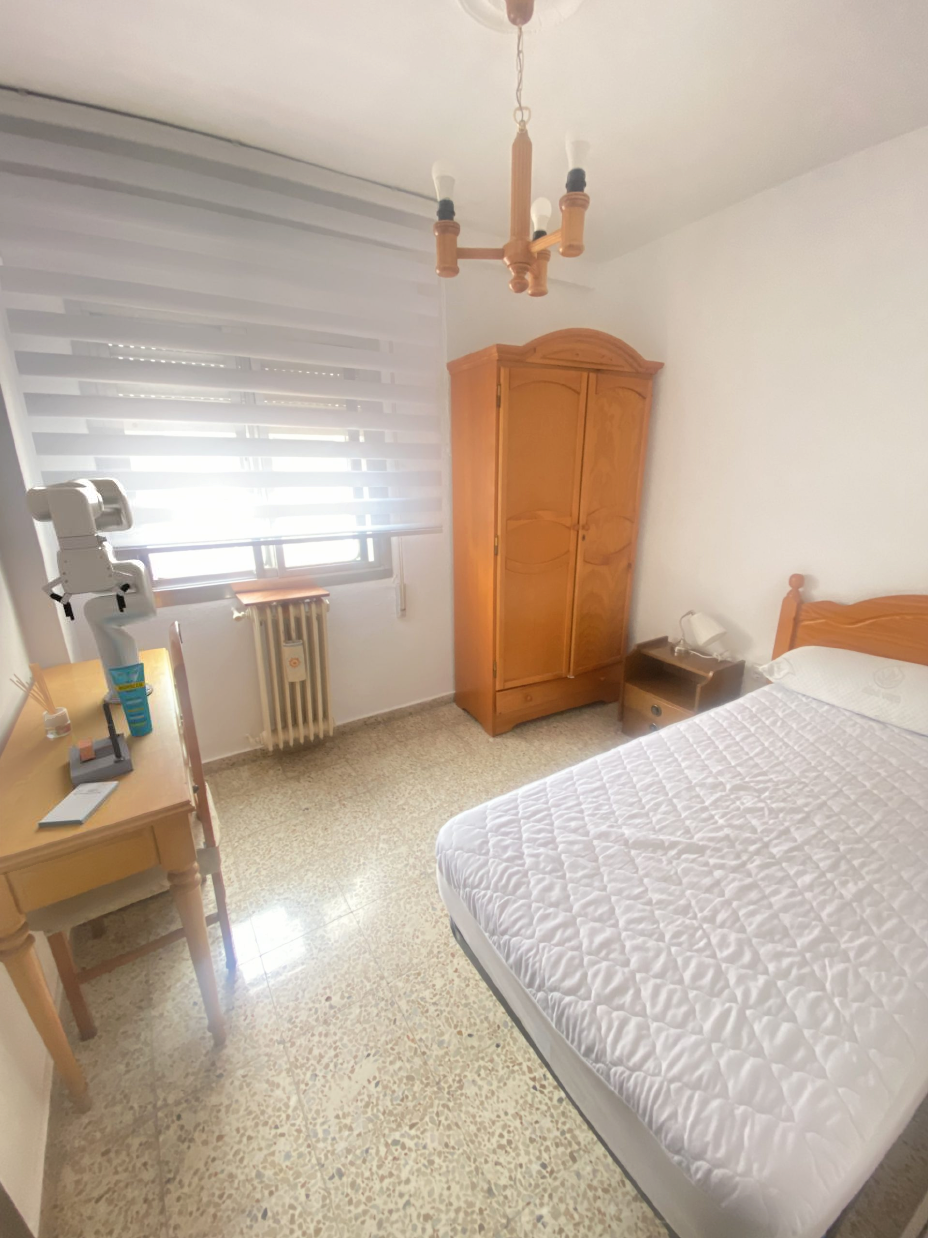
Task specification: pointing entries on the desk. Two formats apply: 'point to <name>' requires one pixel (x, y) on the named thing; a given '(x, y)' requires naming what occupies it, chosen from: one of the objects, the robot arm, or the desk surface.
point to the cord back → (108, 714)
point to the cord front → (114, 741)
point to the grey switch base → (99, 762)
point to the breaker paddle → (86, 749)
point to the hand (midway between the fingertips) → (97, 615)
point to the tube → (133, 697)
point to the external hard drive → (79, 804)
